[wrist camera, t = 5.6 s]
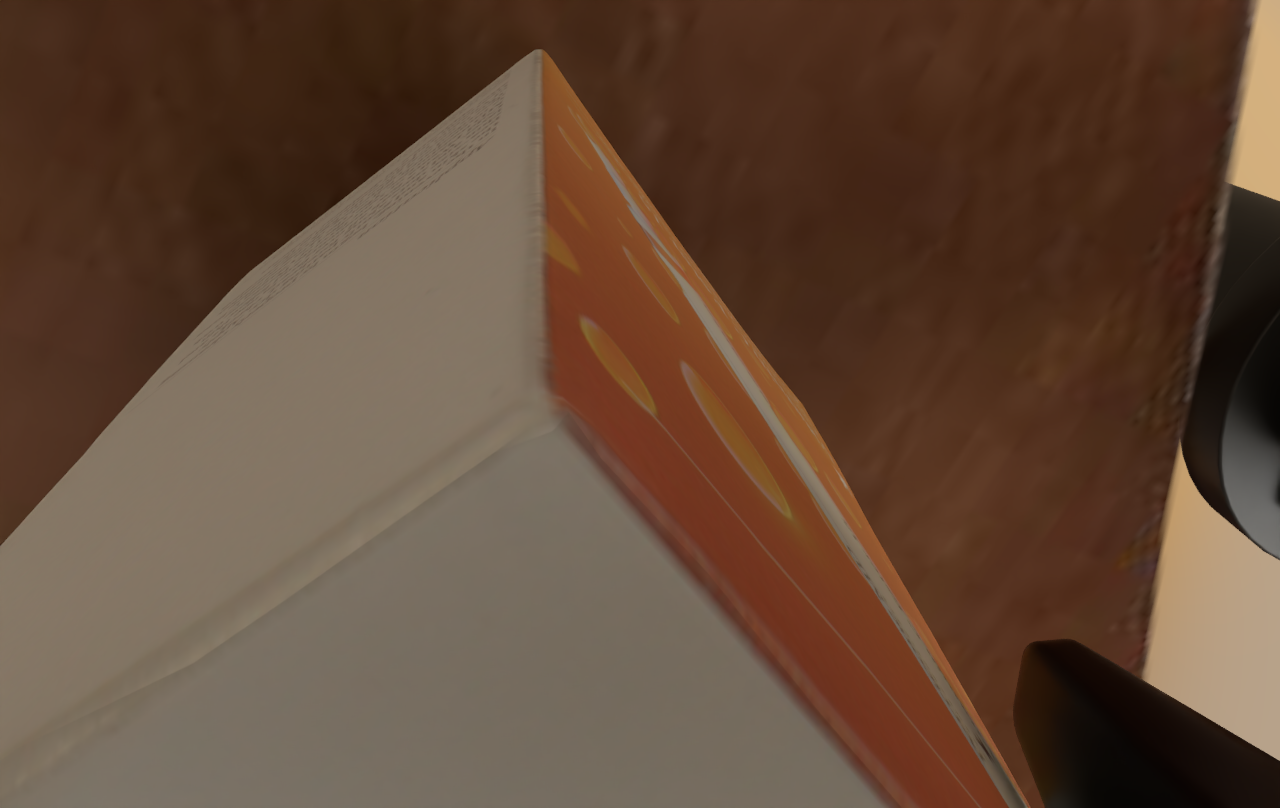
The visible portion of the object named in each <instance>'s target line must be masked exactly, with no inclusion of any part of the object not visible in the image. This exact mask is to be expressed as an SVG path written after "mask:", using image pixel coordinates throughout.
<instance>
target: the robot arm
mask: <svg viewBox="0 0 1280 808" xmlns="http://www.w3.org/2000/svg"><path fill="white" fill-rule="evenodd" d="M1013 720H1014V726H1015V730H1016V734H1017V737H1018V739H1019V742H1020V744H1021V747H1022V749H1023V752H1024V755H1025V757H1026V760H1027V762H1028V765H1029V767H1030V770H1031V772H1032V775H1033V778H1034V780H1035V783H1036V785H1037V788H1038V790H1039V793H1040V796H1041V798H1042V801H1043V803H1044V806H1045V808H1280V761H1279V760H1277V759H1275V758H1274V757H1272V756H1270V755H1269V754H1267V753H1265V752H1264V751H1262V750H1260V749H1259V748H1257V747H1255V746H1253V745H1252V744H1250V743H1248V742H1247V741H1245V740H1243V739H1242V738H1240V737H1238V736H1236V735H1235V734H1233V733H1231V732H1230V731H1228V730H1226V729H1225V728H1223V727H1221V726H1220V725H1218V724H1216V723H1215V722H1213V721H1211V720H1209V719H1208V718H1206V717H1204V716H1203V715H1201V714H1199V713H1198V712H1196V711H1194V710H1193V709H1191V708H1189V707H1187V706H1186V705H1184V704H1182V703H1181V702H1179V701H1177V700H1176V699H1174V698H1172V697H1171V696H1169V695H1167V694H1165V693H1164V692H1162V691H1160V690H1159V689H1157V688H1155V687H1154V686H1152V685H1150V684H1149V683H1147V682H1145V681H1143V680H1142V679H1140V678H1138V677H1137V676H1135V675H1133V674H1132V673H1130V672H1128V671H1127V670H1125V669H1123V668H1121V667H1120V666H1118V665H1116V664H1115V663H1113V662H1111V661H1110V660H1108V659H1106V658H1105V657H1103V656H1101V655H1100V654H1098V653H1096V652H1094V651H1093V650H1091V649H1089V648H1088V647H1086V646H1084V645H1083V644H1081V643H1079V642H1077V641H1075V640H1071V639H1057V640H1046V641H1036V642H1033V643H1030V644H1029V645H1028V646H1027V647H1026V648H1025V650H1024V653H1023V656H1022V661H1021V667H1020V672H1019V678H1018V683H1017V689H1016V694H1015V700H1014V706H1013Z"/></svg>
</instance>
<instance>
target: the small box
mask: <svg viewBox="0 0 1280 808" xmlns="http://www.w3.org/2000/svg"><path fill="white" fill-rule="evenodd" d="M0 808H1030V806H1029V804H1028V802H1027V800H1026V799H1025V797H1024V795H1023V793H1022V792H1021V790H1020V788H1019V786H1018V785H1017V783H1016V781H1015V779H1014V777H1013V776H1012V774H1011V772H1010V770H1009V769H1008V767H1007V765H1006V763H1005V762H1004V760H1003V758H1002V756H1001V754H1000V753H999V751H998V749H997V747H996V746H995V744H994V742H993V740H992V739H991V737H990V735H989V733H988V731H987V730H986V728H985V726H984V724H983V723H982V721H981V719H980V717H979V716H978V714H977V712H976V710H975V709H974V707H973V705H972V703H971V701H970V700H969V698H968V696H967V694H966V693H965V691H964V689H963V687H962V686H961V684H960V682H959V680H958V679H957V677H956V675H955V673H954V672H953V670H952V668H951V666H950V664H949V663H948V661H947V659H946V657H945V656H944V654H943V652H942V650H941V649H940V647H939V645H938V643H937V642H936V640H935V638H934V636H933V635H932V633H931V631H930V629H929V627H928V626H927V624H926V622H925V621H924V619H923V617H922V615H921V614H920V612H919V610H918V608H917V607H916V605H915V603H914V602H913V600H912V598H911V596H910V595H909V593H908V591H907V589H906V588H905V586H904V584H903V583H902V581H901V579H900V577H899V576H898V574H897V572H896V570H895V569H894V567H893V565H892V564H891V562H890V560H889V558H888V557H887V555H886V553H885V551H884V550H883V548H882V546H881V544H880V543H879V541H878V539H877V537H876V536H875V534H874V532H873V530H872V529H871V527H870V525H869V523H868V521H867V519H866V517H865V515H864V514H863V512H862V510H861V508H860V506H859V504H858V502H857V500H856V498H855V497H854V495H853V493H852V491H851V489H850V487H849V485H848V483H847V481H846V480H845V478H844V476H843V474H842V472H841V470H840V469H839V467H838V465H837V463H836V461H835V460H834V458H833V456H832V454H831V453H830V451H829V449H828V447H827V446H826V444H825V442H824V440H823V439H822V437H821V435H820V434H819V432H818V430H817V429H816V427H815V425H814V423H813V422H812V420H811V418H810V417H809V415H808V413H807V411H806V410H805V408H804V406H803V405H802V403H801V402H800V401H799V400H798V398H797V397H796V396H795V395H794V394H793V392H792V391H791V390H790V389H789V387H788V386H787V385H786V384H785V383H784V381H783V380H782V379H781V378H780V376H779V375H778V374H777V373H776V372H775V370H774V369H773V368H772V367H771V365H770V364H769V363H768V361H767V360H766V359H765V357H764V356H763V355H762V354H761V352H760V351H759V350H758V348H757V347H756V346H755V344H754V343H753V342H752V341H751V339H750V338H749V337H748V335H747V334H746V333H745V331H744V330H743V328H742V327H741V326H740V324H739V323H738V322H737V320H736V319H735V317H734V316H733V315H732V313H731V312H730V311H729V309H728V308H727V306H726V305H725V304H724V302H723V301H722V299H721V298H720V297H719V295H718V294H717V293H716V291H715V290H714V288H713V287H712V286H711V284H710V283H709V281H708V280H707V279H706V277H705V276H704V275H703V273H702V272H701V270H700V269H699V268H698V266H697V265H696V264H695V262H694V261H693V259H692V258H691V257H690V255H689V254H688V253H687V251H686V250H685V249H684V247H683V246H682V244H681V243H680V242H679V240H678V239H677V238H676V236H675V235H674V233H673V232H672V231H671V229H670V228H669V226H668V225H667V223H666V222H665V221H664V219H663V218H662V216H661V215H660V214H659V212H658V211H657V209H656V208H655V206H654V205H653V204H652V202H651V201H650V199H649V198H648V196H647V195H646V194H645V192H644V191H643V189H642V188H641V187H640V185H639V184H638V182H637V181H636V180H635V178H634V177H633V175H632V174H631V173H630V171H629V170H628V168H627V167H626V166H625V164H624V163H623V162H622V160H621V159H620V157H619V156H618V154H617V153H616V151H615V150H614V149H613V147H612V146H611V144H610V143H609V141H608V140H607V139H606V137H605V136H604V134H603V133H602V131H601V130H600V129H599V127H598V126H597V124H596V123H595V121H594V120H593V118H592V117H591V116H590V114H589V113H588V111H587V110H586V108H585V107H584V105H583V104H582V103H581V101H580V100H579V98H578V97H577V95H576V94H575V93H574V91H573V90H572V88H571V87H570V85H569V84H568V82H567V81H566V79H565V78H564V76H563V75H562V73H561V72H560V71H559V69H558V68H557V66H556V65H555V63H554V62H553V60H552V59H551V57H550V56H549V55H548V54H547V53H546V52H545V51H544V50H542V49H536V50H534V51H532V52H531V53H530V54H528V55H527V56H525V57H524V58H523V59H521V60H520V61H519V62H517V63H516V64H515V65H514V66H512V67H511V68H510V69H509V70H507V71H506V72H505V73H503V74H502V75H501V76H500V77H498V78H497V79H496V80H494V81H493V82H492V83H491V84H489V85H488V86H487V87H486V88H484V89H483V90H482V91H480V92H479V93H478V94H477V95H475V96H474V97H473V98H472V99H470V100H469V101H468V102H466V103H465V104H464V105H463V106H461V107H460V108H459V109H457V110H456V111H455V112H454V113H452V114H451V115H450V116H449V117H447V118H446V119H445V120H443V121H442V122H441V123H440V124H438V125H437V126H436V127H434V128H433V129H432V130H431V131H429V132H428V133H427V134H425V135H424V136H423V137H422V138H420V139H419V140H418V141H417V142H415V143H414V144H413V145H411V146H410V147H409V148H408V149H406V150H405V151H404V152H402V153H401V154H400V155H399V156H397V157H396V158H395V159H393V160H392V161H391V162H390V163H388V164H387V165H386V166H385V167H383V168H382V169H381V170H379V171H378V172H377V173H376V174H374V175H373V176H372V177H370V178H369V179H368V180H367V181H365V182H364V183H363V184H362V185H360V186H359V187H358V188H356V189H355V190H354V191H353V192H351V193H350V194H349V195H347V196H346V197H345V198H344V199H342V200H341V201H340V202H338V203H337V204H336V205H335V206H333V207H332V208H331V209H329V210H328V211H327V212H326V213H324V214H323V215H322V216H320V217H319V218H318V219H317V220H315V221H314V222H313V223H311V224H310V225H309V226H308V227H306V228H305V229H304V230H302V231H301V232H300V233H299V234H297V235H296V236H295V237H293V238H292V239H291V240H290V241H288V242H287V243H286V244H284V245H283V246H282V247H281V248H279V249H278V250H277V251H275V252H274V253H273V254H272V255H270V256H269V257H268V258H266V259H265V260H264V261H263V262H261V263H260V264H259V265H257V266H256V267H255V268H254V269H252V270H251V271H250V272H249V273H248V274H247V275H246V276H245V277H244V278H243V279H242V280H241V281H240V282H239V283H238V284H237V285H236V286H235V287H234V288H233V289H232V290H231V291H230V292H229V293H228V294H227V295H226V296H225V297H224V298H223V299H222V300H221V301H220V302H219V304H218V305H217V306H216V307H215V308H214V309H213V310H212V311H211V312H210V313H209V314H208V316H207V317H206V318H205V319H204V320H203V321H202V322H201V323H200V324H199V325H198V327H197V328H196V329H195V330H194V331H193V332H192V333H191V334H190V335H189V336H188V337H187V339H186V340H185V341H184V342H183V343H182V344H181V345H180V346H179V347H178V348H177V350H176V351H175V352H174V353H173V354H172V355H171V356H170V357H169V358H168V359H167V360H166V362H165V363H164V364H163V365H162V366H161V367H160V368H159V369H158V370H157V371H156V373H155V374H154V375H153V376H152V377H151V378H150V379H149V380H148V382H147V383H146V384H145V385H144V386H143V387H142V388H141V390H140V391H139V392H138V393H137V394H136V395H135V396H134V397H133V399H132V400H131V401H130V402H129V403H128V404H127V405H126V406H125V408H124V409H123V410H122V411H121V412H120V413H119V414H118V415H117V416H116V418H115V419H114V420H113V421H112V422H111V423H110V424H109V425H108V427H107V428H106V429H105V430H104V431H103V432H102V433H101V435H100V436H99V437H98V438H97V439H96V440H95V442H94V443H93V444H92V445H91V446H90V448H89V449H88V450H87V451H86V452H85V454H84V455H83V456H82V457H81V458H80V459H79V460H78V461H77V463H76V464H75V465H74V466H73V467H72V468H71V469H70V470H69V471H68V472H67V473H66V474H65V476H64V477H63V478H62V479H61V480H60V481H59V482H58V483H57V484H56V485H55V486H54V487H53V489H52V490H51V491H50V492H49V493H48V494H47V495H46V496H45V497H44V498H43V500H42V501H41V502H40V503H39V504H38V505H37V506H36V507H35V508H34V510H33V511H32V512H31V513H30V514H29V515H28V516H27V517H26V518H25V519H24V521H23V522H22V523H21V524H20V525H19V526H18V527H17V528H16V529H15V531H14V532H13V533H12V534H11V535H10V536H9V537H8V538H7V539H6V540H5V542H4V543H3V544H2V545H1V546H0Z"/></svg>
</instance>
